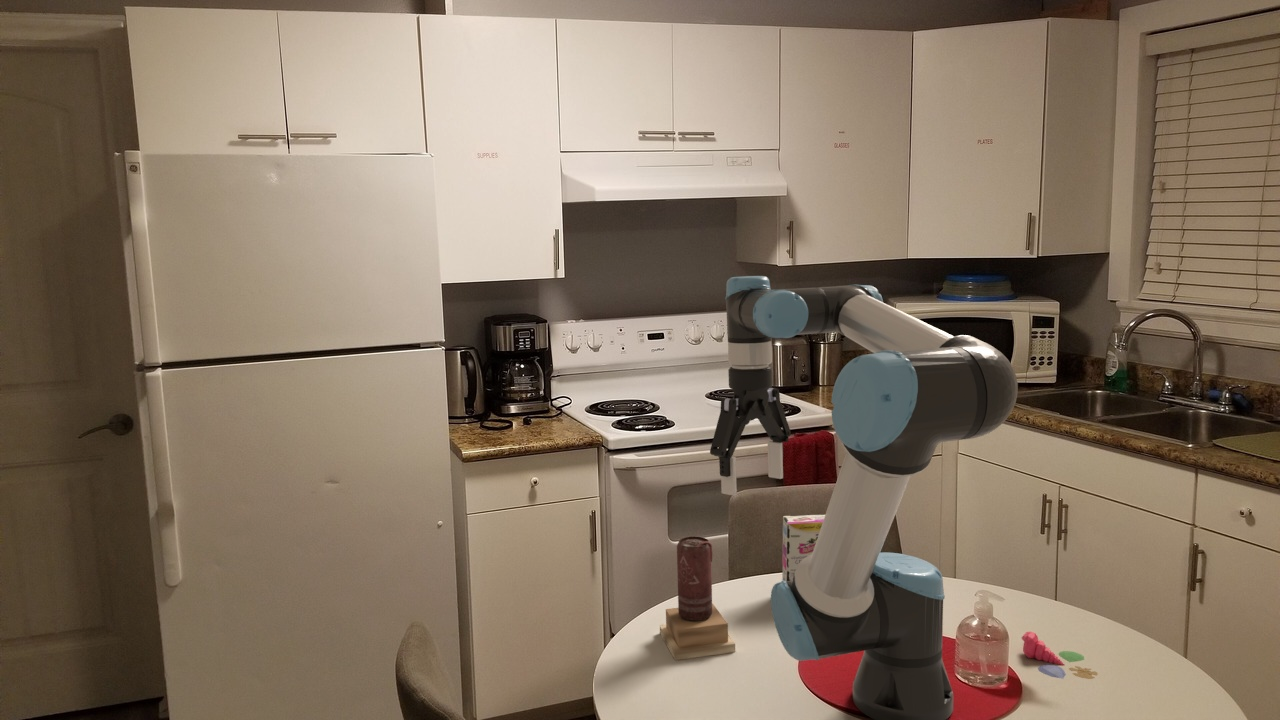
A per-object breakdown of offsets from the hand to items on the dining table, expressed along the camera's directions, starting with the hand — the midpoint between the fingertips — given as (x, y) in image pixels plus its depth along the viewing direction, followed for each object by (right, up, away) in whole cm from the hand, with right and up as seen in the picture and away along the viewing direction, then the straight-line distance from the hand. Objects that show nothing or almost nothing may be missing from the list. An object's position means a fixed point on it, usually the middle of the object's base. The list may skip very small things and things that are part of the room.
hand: (753, 485), depth 161 cm
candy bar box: (+15, -26, +24) cm, 38 cm away
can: (-10, -24, +5) cm, 27 cm away
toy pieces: (+51, -30, -7) cm, 59 cm away
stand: (-10, -29, +5) cm, 31 cm away
